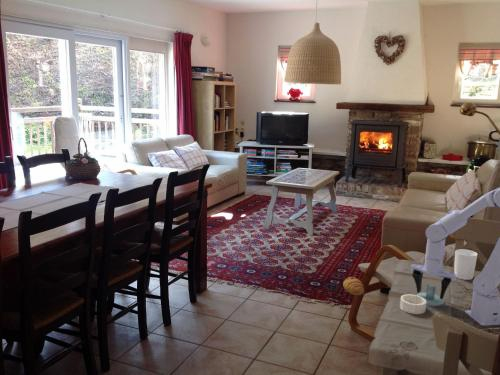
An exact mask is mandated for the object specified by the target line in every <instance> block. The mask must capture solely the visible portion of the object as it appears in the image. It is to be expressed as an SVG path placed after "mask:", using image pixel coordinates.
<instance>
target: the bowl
mask: <svg viewBox="0 0 500 375" xmlns="http://www.w3.org/2000/svg"><path fill="white" fill-rule="evenodd" d="M399 300H400V301H399V308H400V310H402V311H403V312H405V313H409V314H410V315H411V314H413V315H422V314H425V312H426V308H427V307H426V300H425V299H424V298H423V297H420V296H418V295H417V294H412V293H411V294H410V293H409V294H408V293H405V294H403V295H400V299H399Z"/></svg>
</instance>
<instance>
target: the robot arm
mask: <svg viewBox="0 0 500 375" xmlns="http://www.w3.org/2000/svg"><path fill="white" fill-rule="evenodd" d="M497 206H498V207H499V208H500V187H497V188H496V189H493V190H491V191H488V192H486V193H485V194H483V195H482V196H480V197H478V198H477V199H476V200H474V201H473V202H472V203H470V204H469V205H467V206H466V207H464V208H463V209H461V210H460V209H454V210H452V209H451V210H448V211H447V213H446V215H445V216H443V217H441V218H437V219H436V220H435V223H433V224H430V225H429V226H428V227H427V228H426V229H425V236H426V241H427V242H426V245H425V246H426V247H425V256H424V258H425V259H424V265H421V264H414V263H412V264H411V265H410V269H409V270H410V271H411V272H412V274H411V275H412V278H413V280H414V283H415V286H416V287H415V288H416V293H417V294H418V293H421V291H422V281H423V277H424V276H423V275H424V274H425V275H426V274H427V275H429V276H433V277H434V276H435V277H438V278H441V279H442V280H441V281H440V282H441V286H440V287H441V288H440V289H441V290H440V295H439V296H440V299H444V297H445V294H446V291H447V289H448V287H449V285H450V284H451V282H455V281H456V280H457V279H456V278H457V277H456V274H454V273H453V272H449V271H447V270H446V269H443V266H444V259H445V258H444V256H445V249H446V238H447V237H448V236H449V235H451V234H453V233H455V232H457V231H458V230H459V229H462V228H463V227H465V226H466V225H467V223H468V218H470V217H471V216H473V215H474V216H475V214H477V213H478V212H480V211H482V210H483V209H485V208H487V207H490V208H495V207H497ZM473 278H474V279H473V280H472V287H473V292H472V298H471V299H472V300H471V306H470V307H471V308H470V309H469V310H464V313H465V314H467V315H468V316H469V317H470V318H471V319H473V320H474V321H475V322H476V323H478V324H479V325H481V326H498V325H500V291H499V289H498V286H500V237H499V238H498V240H497V242H496V243H495V245H494V248H493V250H492V252H491V254H490V256H489V257H488V260H487V261H486V264H485V265H484V267H483V268H482V270H481V271H480V273H479V274H478V275H477V276H475V277H473Z"/></svg>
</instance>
